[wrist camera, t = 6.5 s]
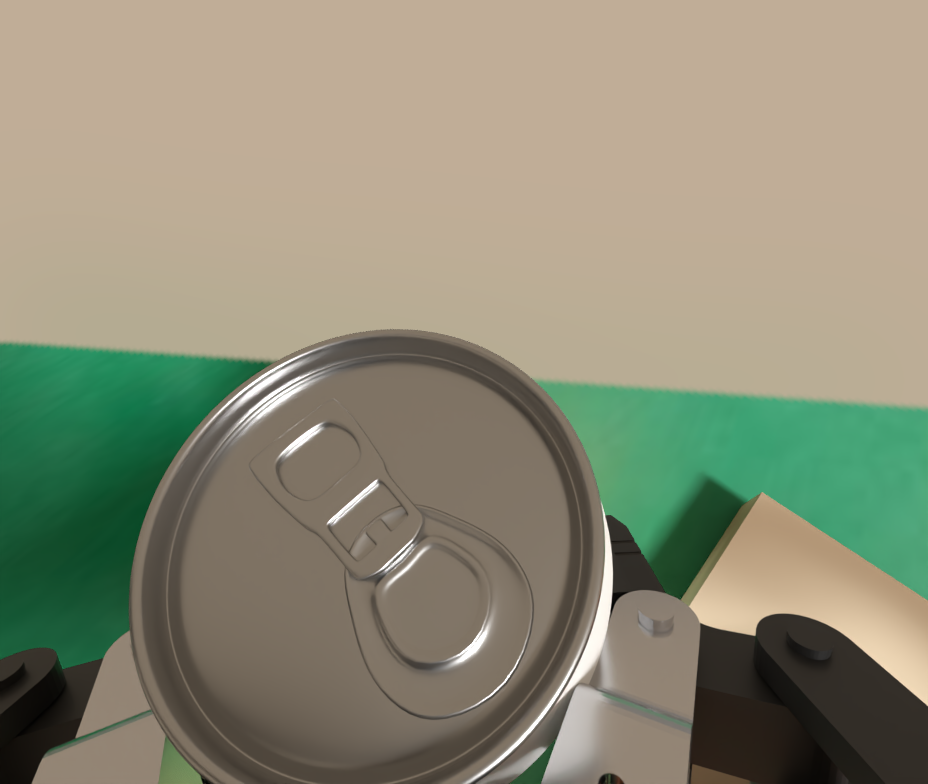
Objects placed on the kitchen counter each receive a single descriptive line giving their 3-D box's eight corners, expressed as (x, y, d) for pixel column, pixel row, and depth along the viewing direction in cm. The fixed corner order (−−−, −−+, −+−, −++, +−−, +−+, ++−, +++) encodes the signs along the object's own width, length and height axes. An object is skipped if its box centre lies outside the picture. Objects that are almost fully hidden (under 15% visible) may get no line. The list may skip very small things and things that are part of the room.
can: (450, 781, 13) (277, 1173, 3) (326, 607, 16) (12, 512, 6) (591, 612, 15) (766, 514, 5) (459, 482, 18) (400, 245, 8)
